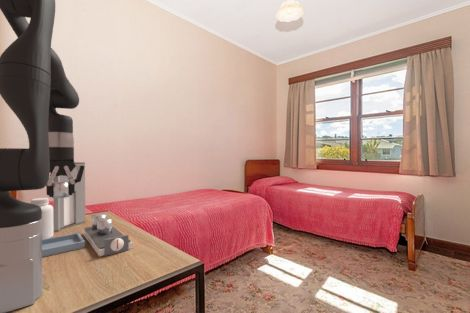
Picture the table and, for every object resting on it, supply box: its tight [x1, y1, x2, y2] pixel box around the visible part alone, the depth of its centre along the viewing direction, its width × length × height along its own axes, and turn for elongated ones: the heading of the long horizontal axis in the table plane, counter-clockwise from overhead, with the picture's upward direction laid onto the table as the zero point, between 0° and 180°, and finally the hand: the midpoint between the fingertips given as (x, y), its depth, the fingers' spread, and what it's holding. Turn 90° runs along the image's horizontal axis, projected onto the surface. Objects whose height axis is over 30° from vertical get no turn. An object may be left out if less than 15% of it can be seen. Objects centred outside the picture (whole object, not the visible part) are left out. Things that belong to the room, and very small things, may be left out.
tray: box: [42, 232, 86, 258], centre depth 82 cm, size 12×12×2 cm
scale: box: [82, 225, 133, 257], centre depth 88 cm, size 29×10×5 cm, turn 41°
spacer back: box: [91, 213, 107, 229], centre depth 96 cm, size 5×5×5 cm
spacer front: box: [51, 181, 70, 199], centre depth 82 cm, size 5×5×5 cm
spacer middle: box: [97, 217, 113, 235], centre depth 89 cm, size 5×5×5 cm
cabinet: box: [52, 161, 86, 233], centre depth 109 cm, size 21×10×28 cm, turn 25°
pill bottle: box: [30, 197, 55, 239], centre depth 91 cm, size 8×8×15 cm
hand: (61, 195), depth 82 cm, fingers closed on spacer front, 5 cm apart
